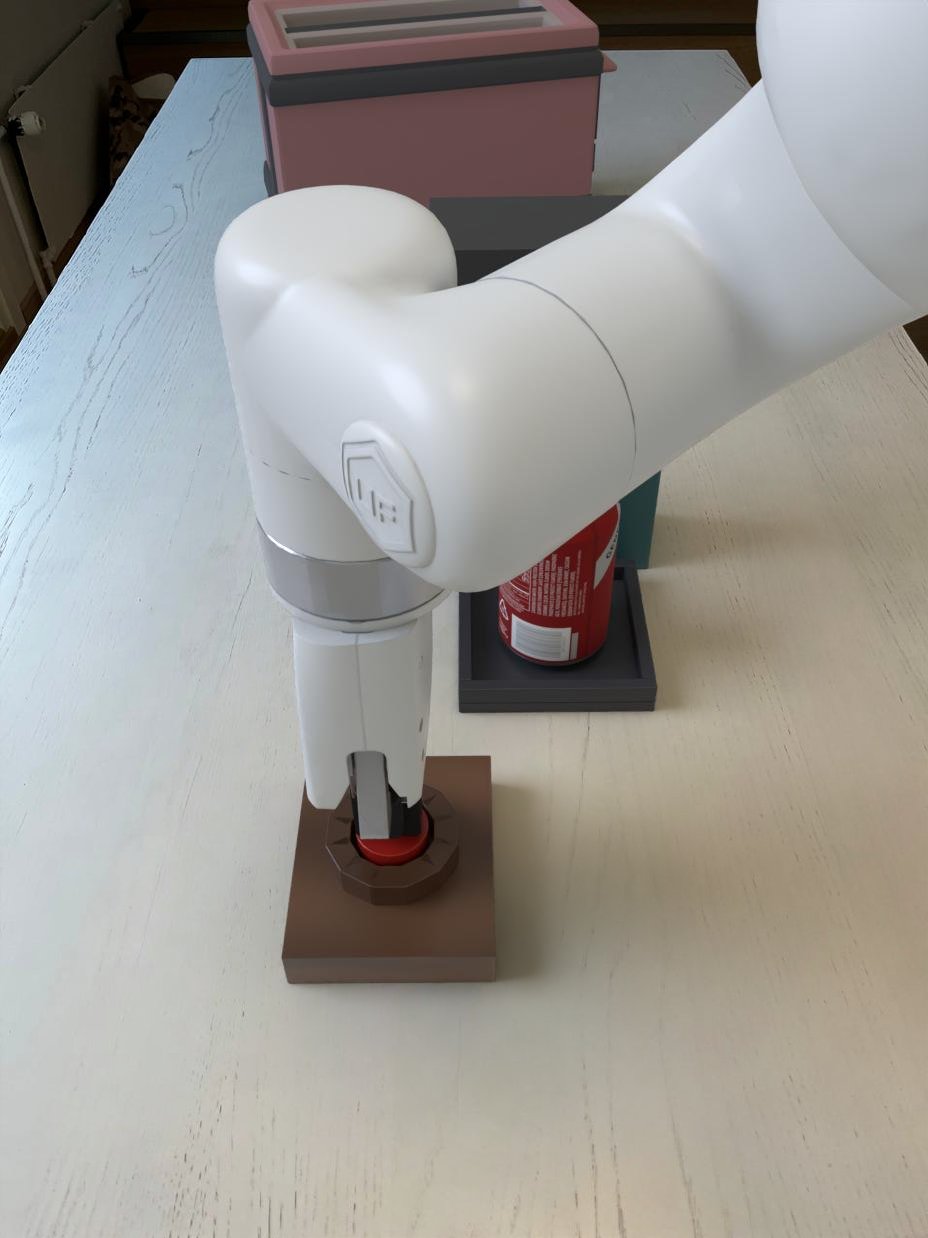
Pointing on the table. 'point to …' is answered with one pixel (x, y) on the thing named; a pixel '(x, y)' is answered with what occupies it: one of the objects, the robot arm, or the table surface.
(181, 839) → the table surface
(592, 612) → the soda can
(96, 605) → the table surface
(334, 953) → the switch
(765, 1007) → the table surface
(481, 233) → the drinks machine
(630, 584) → the tray
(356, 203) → the robot arm
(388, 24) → the toaster
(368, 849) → the button
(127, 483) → the table surface
